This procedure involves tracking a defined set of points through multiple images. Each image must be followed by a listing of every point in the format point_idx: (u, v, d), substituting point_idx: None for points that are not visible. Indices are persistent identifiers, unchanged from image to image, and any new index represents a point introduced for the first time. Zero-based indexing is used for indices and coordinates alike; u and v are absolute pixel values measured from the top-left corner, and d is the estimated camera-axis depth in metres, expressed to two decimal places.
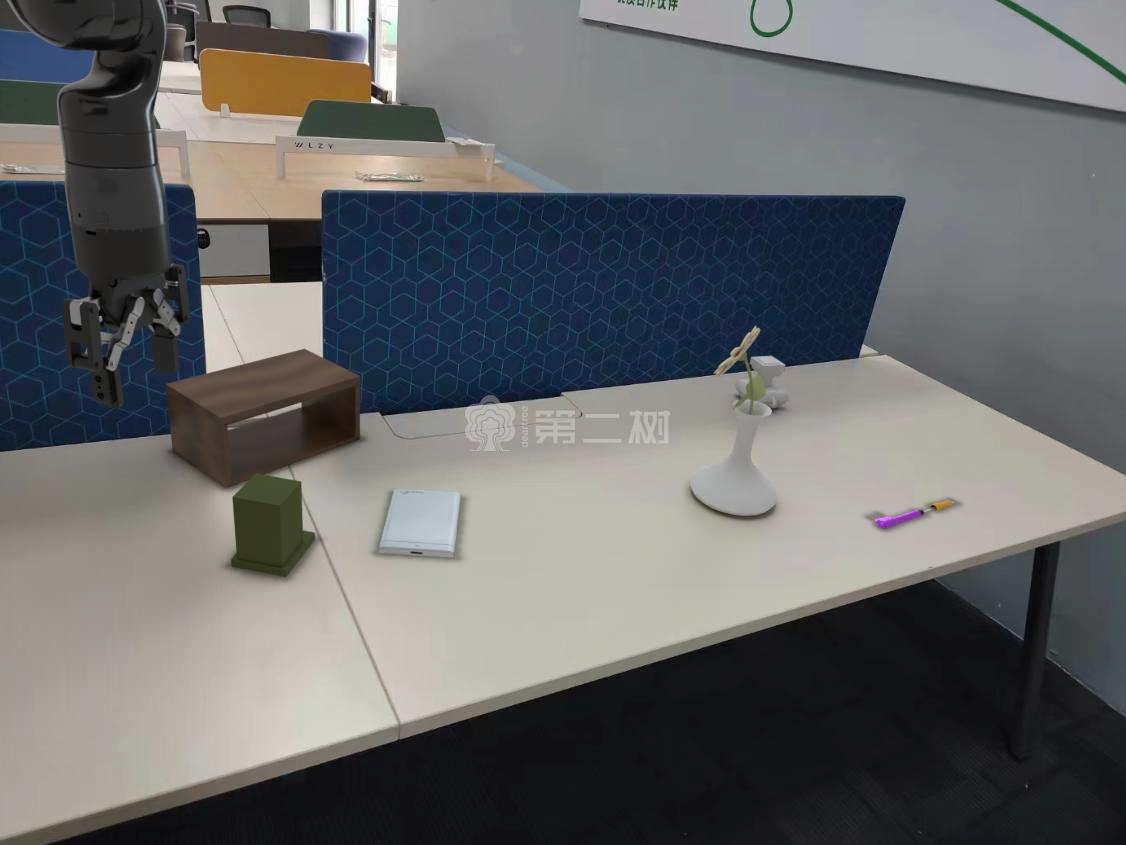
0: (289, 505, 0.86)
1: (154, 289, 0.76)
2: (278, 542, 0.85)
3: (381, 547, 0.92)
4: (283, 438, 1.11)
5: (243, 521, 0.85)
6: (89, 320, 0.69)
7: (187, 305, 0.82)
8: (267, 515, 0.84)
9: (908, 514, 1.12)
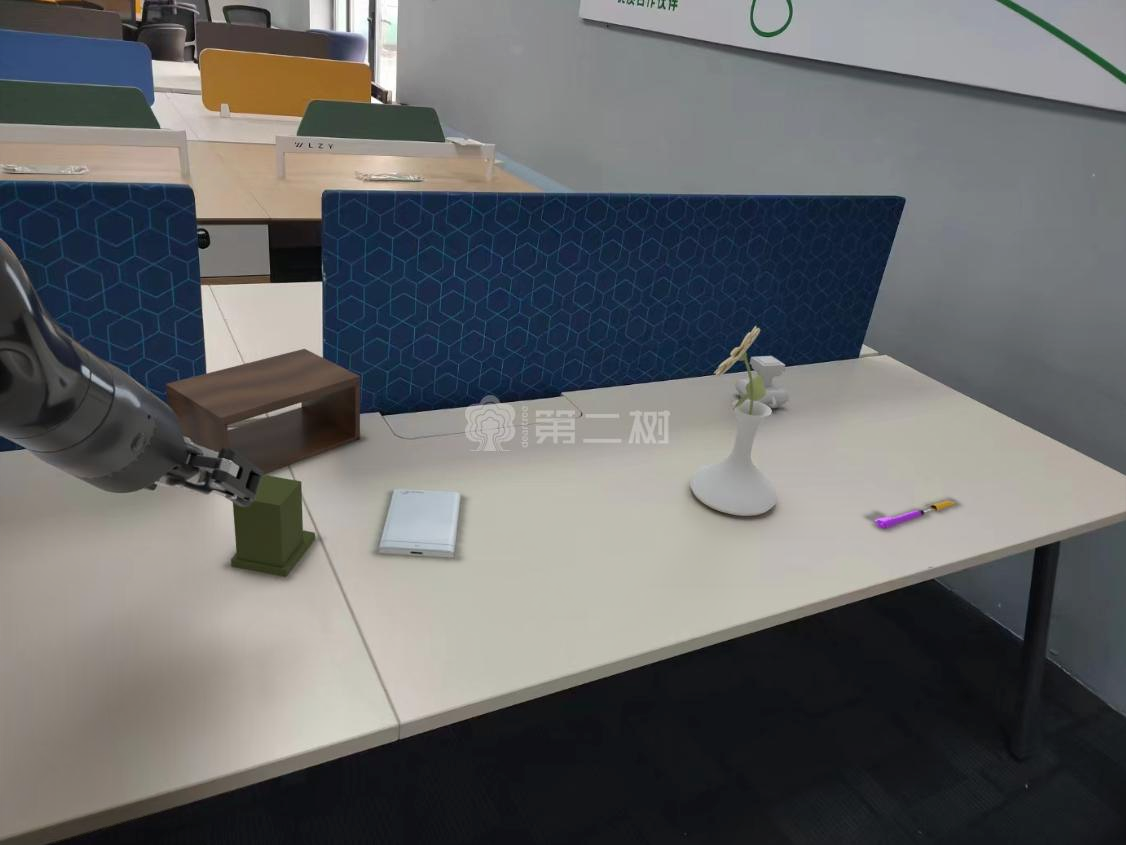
0: (289, 505, 0.86)
1: None
2: (278, 542, 0.85)
3: (381, 547, 0.92)
4: (283, 438, 1.11)
5: (243, 521, 0.85)
6: None
7: (243, 495, 0.65)
8: (267, 515, 0.84)
9: (908, 514, 1.12)
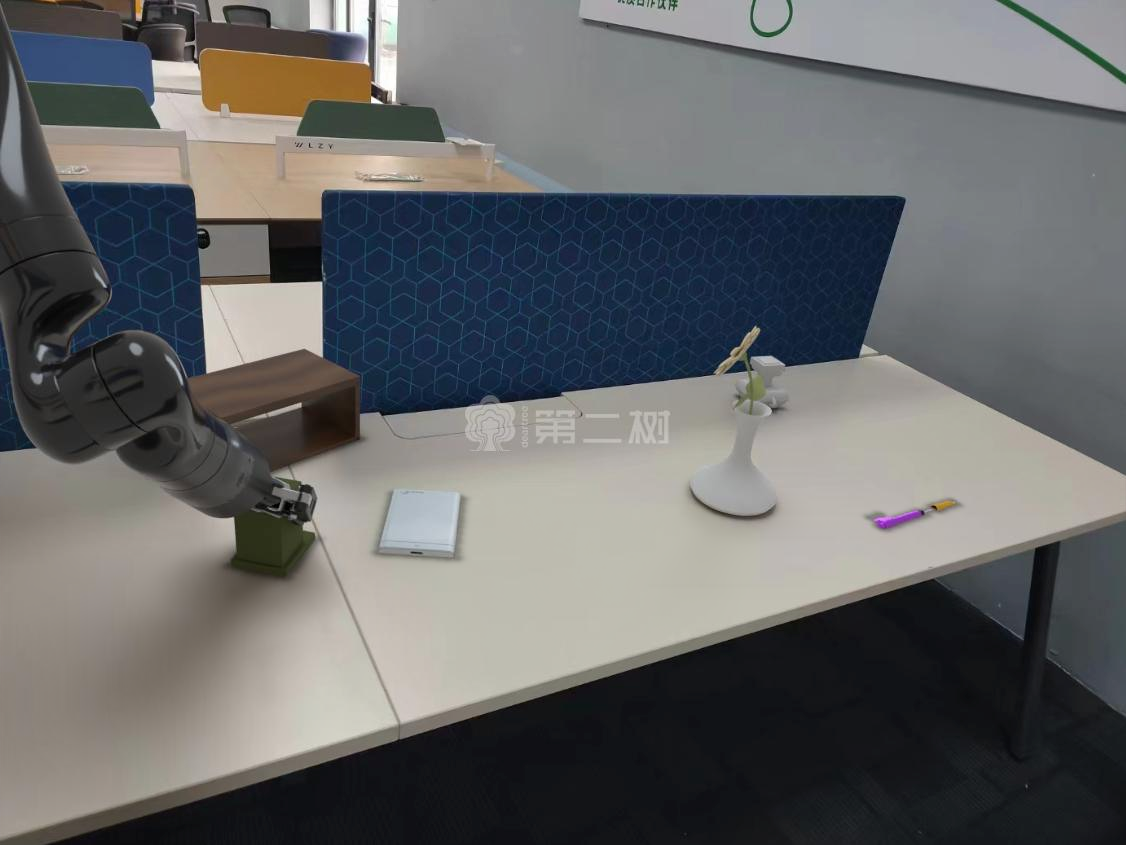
0: None
1: None
2: (278, 542, 0.85)
3: (381, 547, 0.92)
4: (283, 438, 1.11)
5: (243, 520, 0.85)
6: None
7: (306, 518, 0.82)
8: None
9: (908, 514, 1.12)
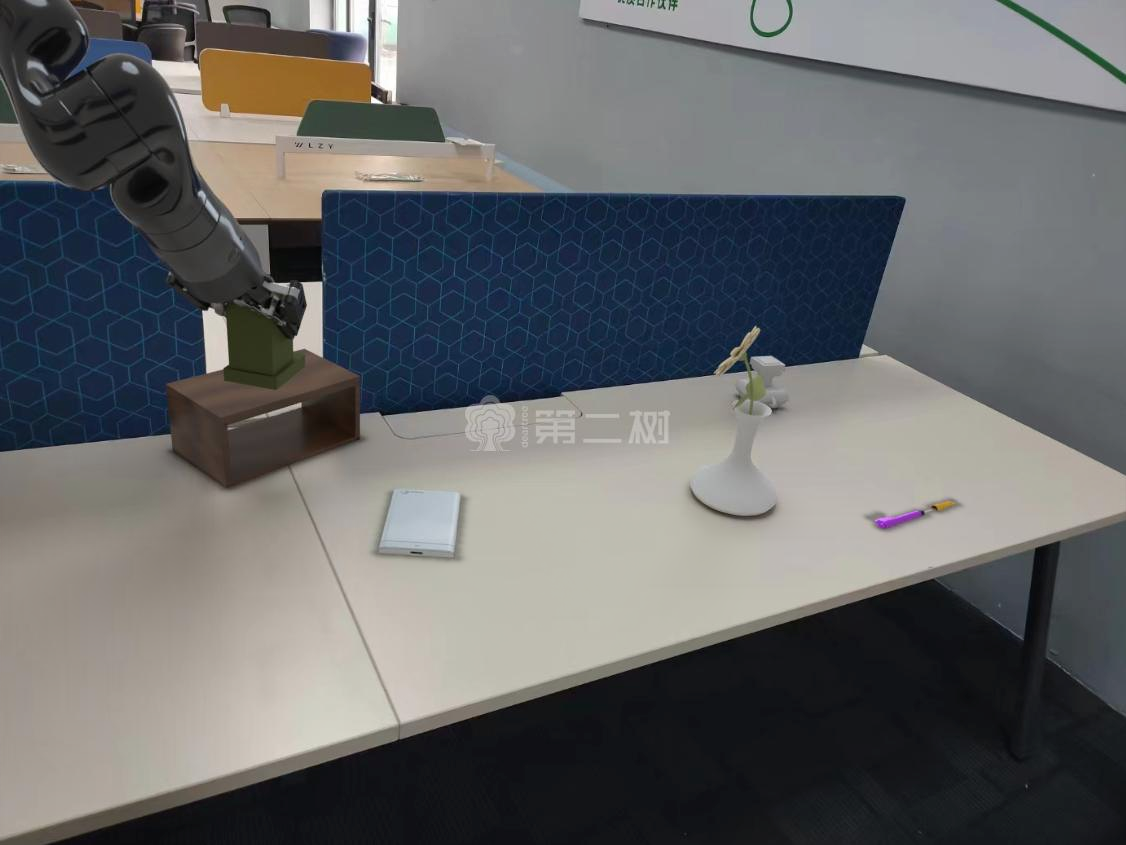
0: None
1: (238, 298, 0.82)
2: (269, 349, 0.89)
3: (381, 547, 0.92)
4: (283, 438, 1.11)
5: (235, 326, 0.88)
6: (173, 288, 0.84)
7: (295, 320, 0.86)
8: (259, 320, 0.87)
9: (908, 514, 1.12)
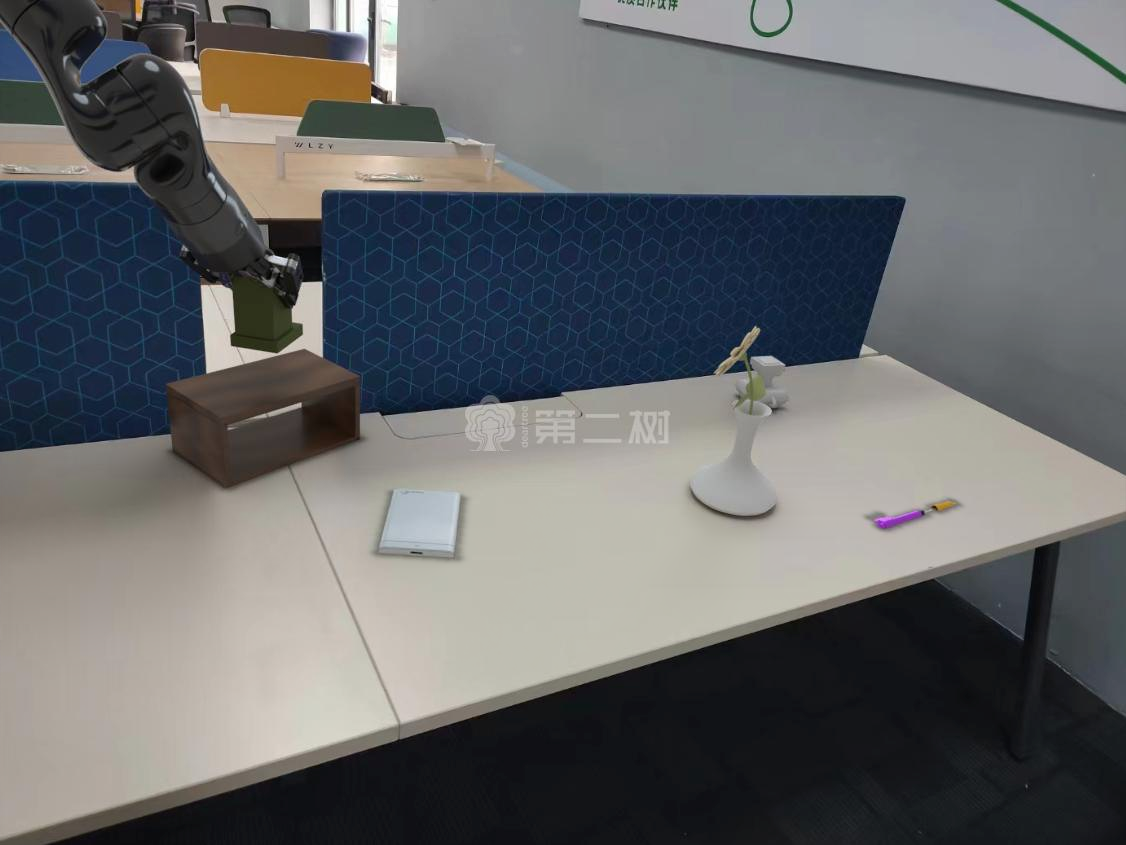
0: None
1: (243, 269, 0.93)
2: (270, 316, 1.00)
3: (381, 547, 0.92)
4: (283, 438, 1.11)
5: (240, 297, 0.99)
6: (185, 262, 0.96)
7: (294, 289, 0.97)
8: (261, 290, 0.99)
9: (909, 514, 1.11)
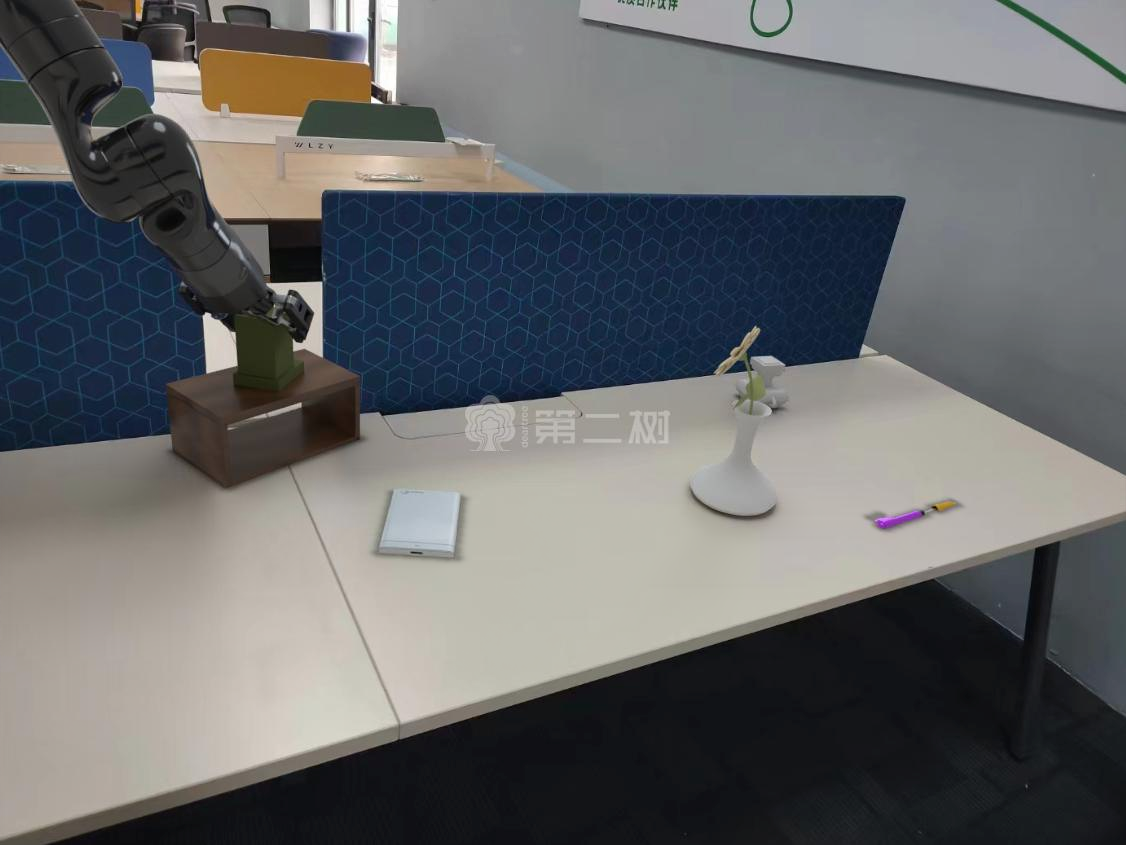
0: None
1: (244, 309, 0.95)
2: (272, 356, 1.02)
3: (381, 547, 0.92)
4: (283, 438, 1.11)
5: (243, 337, 1.02)
6: (182, 296, 0.97)
7: (302, 325, 0.98)
8: (263, 331, 1.01)
9: (909, 514, 1.11)
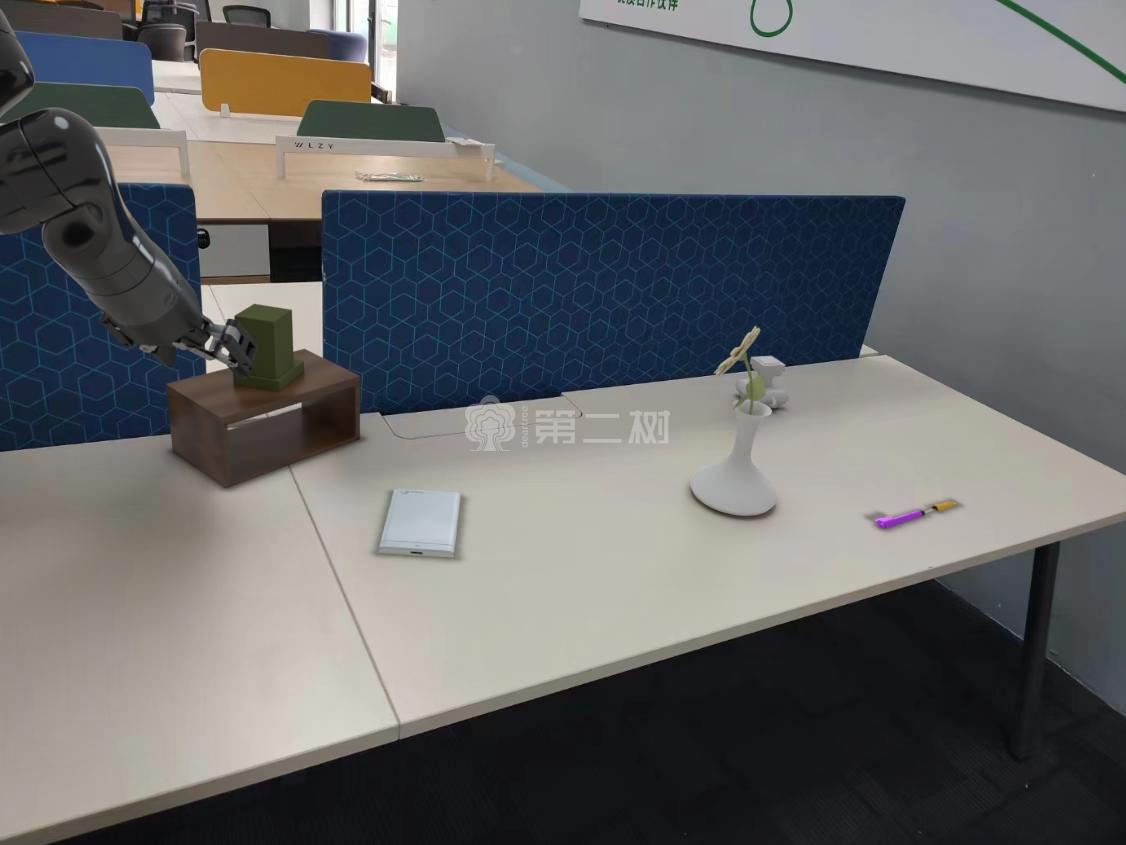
0: (282, 326, 1.03)
1: (175, 340, 0.83)
2: (272, 356, 1.02)
3: (381, 547, 0.92)
4: (283, 438, 1.11)
5: None
6: (104, 325, 0.84)
7: (243, 360, 0.85)
8: (263, 331, 1.01)
9: (909, 514, 1.11)
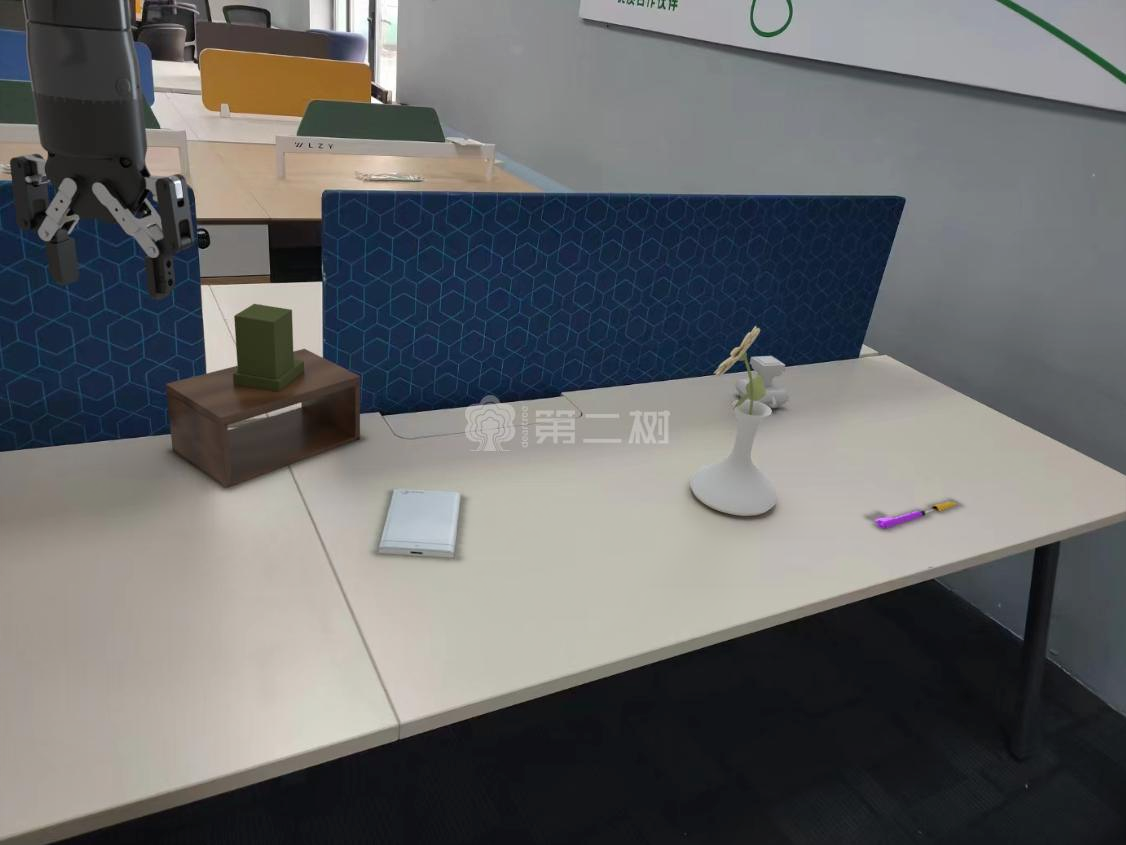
0: (282, 326, 1.03)
1: (98, 182, 0.67)
2: (272, 356, 1.02)
3: (381, 547, 0.92)
4: (283, 438, 1.11)
5: (243, 337, 1.02)
6: (12, 173, 0.68)
7: (172, 231, 0.68)
8: (263, 331, 1.01)
9: (909, 515, 1.11)
